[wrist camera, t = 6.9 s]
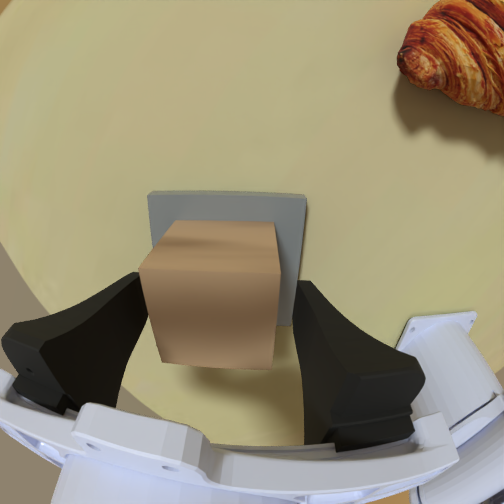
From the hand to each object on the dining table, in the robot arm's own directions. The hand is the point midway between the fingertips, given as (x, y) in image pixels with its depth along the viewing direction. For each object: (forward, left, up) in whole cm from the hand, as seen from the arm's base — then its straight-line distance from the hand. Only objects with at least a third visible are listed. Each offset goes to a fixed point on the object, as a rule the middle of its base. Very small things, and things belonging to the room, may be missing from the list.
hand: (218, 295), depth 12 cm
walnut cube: (0, 0, -3) cm, 3 cm away
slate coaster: (0, 0, -3) cm, 3 cm away
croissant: (+16, -17, -4) cm, 24 cm away
